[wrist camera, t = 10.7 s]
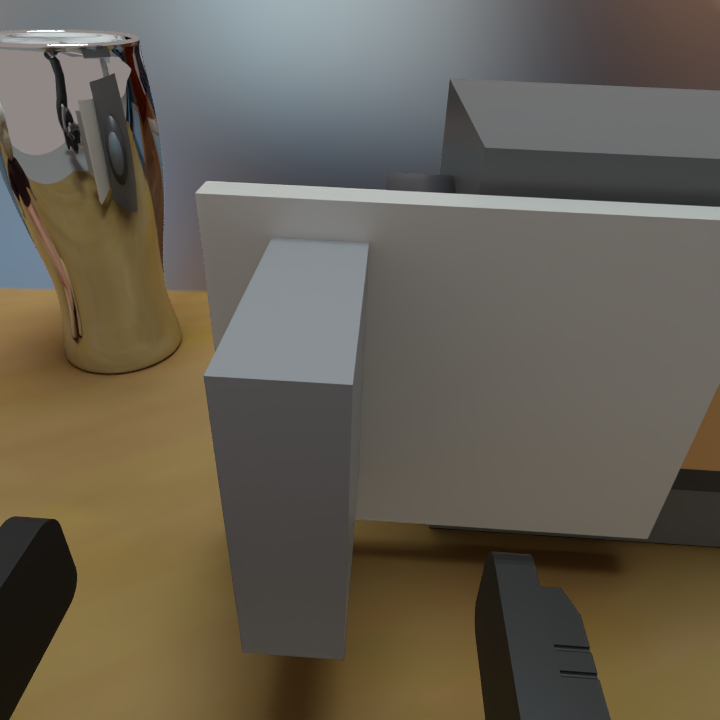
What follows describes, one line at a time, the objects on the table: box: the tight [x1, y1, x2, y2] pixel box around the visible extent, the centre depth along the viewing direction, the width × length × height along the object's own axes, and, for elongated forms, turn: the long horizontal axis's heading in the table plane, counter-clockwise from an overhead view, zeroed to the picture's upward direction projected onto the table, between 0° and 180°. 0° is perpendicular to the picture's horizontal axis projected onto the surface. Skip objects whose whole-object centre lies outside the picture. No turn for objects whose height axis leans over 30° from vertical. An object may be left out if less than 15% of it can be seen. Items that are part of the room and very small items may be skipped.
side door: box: [195, 181, 720, 660], centre depth 15 cm, size 14×7×11 cm, turn 87°
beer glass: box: [0, 30, 182, 374], centre depth 28 cm, size 7×7×15 cm
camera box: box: [386, 79, 720, 547], centre depth 23 cm, size 21×12×15 cm, turn 87°
